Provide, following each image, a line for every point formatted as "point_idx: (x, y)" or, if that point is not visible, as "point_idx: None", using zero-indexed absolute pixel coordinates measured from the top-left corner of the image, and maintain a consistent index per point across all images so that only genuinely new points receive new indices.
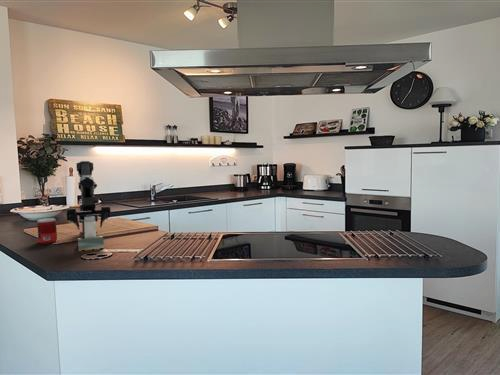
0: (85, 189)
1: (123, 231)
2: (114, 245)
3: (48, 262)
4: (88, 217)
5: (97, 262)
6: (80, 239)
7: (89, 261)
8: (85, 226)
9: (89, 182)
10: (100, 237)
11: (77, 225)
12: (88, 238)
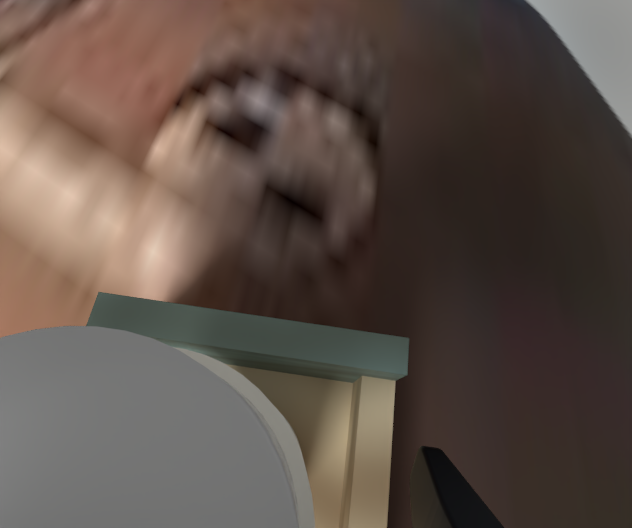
0: None
1: None
2: None
3: (587, 169)
4: (144, 396)
5: (302, 23)
6: (379, 334)
7: (340, 60)
8: (293, 435)
9: None
10: (132, 301)
11: (484, 505)
12: (279, 333)
